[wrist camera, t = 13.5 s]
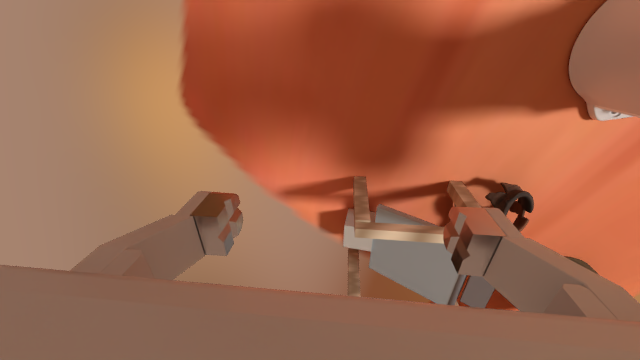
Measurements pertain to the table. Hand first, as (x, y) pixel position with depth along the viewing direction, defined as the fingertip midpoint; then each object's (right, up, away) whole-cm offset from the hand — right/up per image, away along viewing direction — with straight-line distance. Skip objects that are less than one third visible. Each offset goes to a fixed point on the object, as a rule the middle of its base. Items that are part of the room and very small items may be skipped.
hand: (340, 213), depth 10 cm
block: (+9, -8, +36) cm, 38 cm away
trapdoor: (+17, -11, +31) cm, 37 cm away
